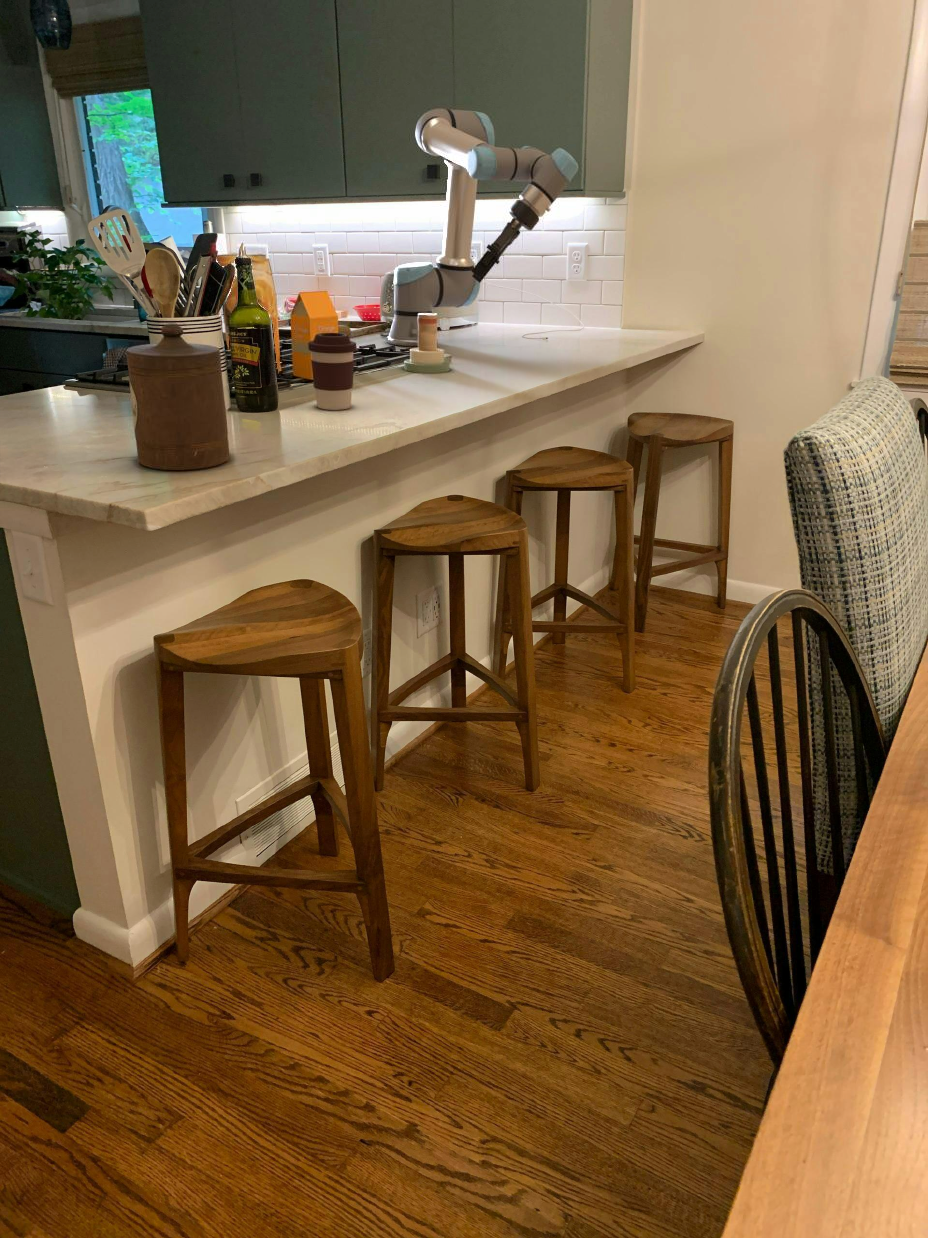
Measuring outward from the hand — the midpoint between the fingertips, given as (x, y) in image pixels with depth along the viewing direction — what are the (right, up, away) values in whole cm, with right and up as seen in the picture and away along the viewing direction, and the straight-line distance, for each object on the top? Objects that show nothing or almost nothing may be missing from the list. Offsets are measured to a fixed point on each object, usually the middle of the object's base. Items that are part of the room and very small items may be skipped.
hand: (475, 277), depth 240 cm
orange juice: (-40, -27, -7) cm, 49 cm away
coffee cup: (-31, -43, -40) cm, 66 cm away
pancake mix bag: (-56, -27, -8) cm, 62 cm away
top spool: (-13, -17, +5) cm, 22 cm away
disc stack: (-13, -22, +7) cm, 26 cm away
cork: (-35, -23, +3) cm, 42 cm away
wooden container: (-50, -61, -83) cm, 114 cm away
